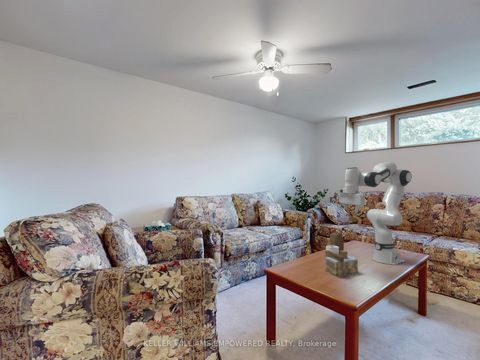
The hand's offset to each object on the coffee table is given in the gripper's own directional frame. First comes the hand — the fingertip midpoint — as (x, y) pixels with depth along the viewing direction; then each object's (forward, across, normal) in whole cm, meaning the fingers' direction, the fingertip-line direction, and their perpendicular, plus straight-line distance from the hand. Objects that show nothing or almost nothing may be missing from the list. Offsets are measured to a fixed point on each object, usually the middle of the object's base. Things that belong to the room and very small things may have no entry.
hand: (350, 211), depth 161 cm
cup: (+41, +16, +1) cm, 44 cm away
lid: (+33, 0, +7) cm, 34 cm away
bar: (+32, +1, +12) cm, 34 cm away
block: (+41, +23, -9) cm, 48 cm away
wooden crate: (+41, 0, +7) cm, 41 cm away
